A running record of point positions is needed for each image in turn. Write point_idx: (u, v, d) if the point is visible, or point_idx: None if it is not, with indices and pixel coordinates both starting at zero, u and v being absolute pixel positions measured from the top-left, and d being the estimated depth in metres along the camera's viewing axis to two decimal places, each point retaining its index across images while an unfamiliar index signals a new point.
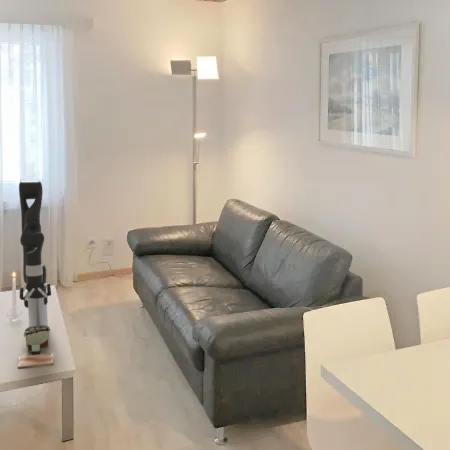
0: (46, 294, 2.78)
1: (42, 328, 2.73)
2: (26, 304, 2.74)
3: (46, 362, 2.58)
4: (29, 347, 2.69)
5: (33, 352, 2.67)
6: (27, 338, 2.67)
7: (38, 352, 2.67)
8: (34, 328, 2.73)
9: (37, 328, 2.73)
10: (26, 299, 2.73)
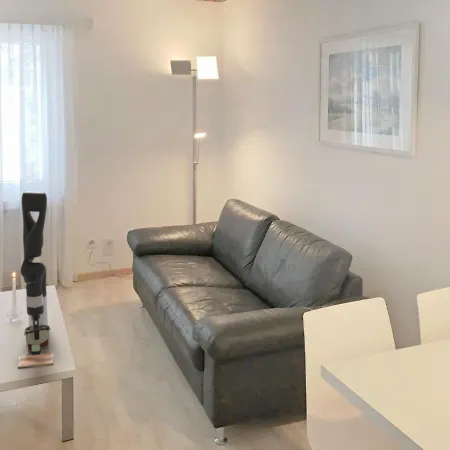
0: None
1: (42, 327, 2.74)
2: (38, 336, 2.69)
3: (46, 362, 2.58)
4: (29, 346, 2.69)
5: (33, 352, 2.67)
6: (27, 337, 2.68)
7: (38, 352, 2.67)
8: None
9: None
10: (39, 330, 2.68)
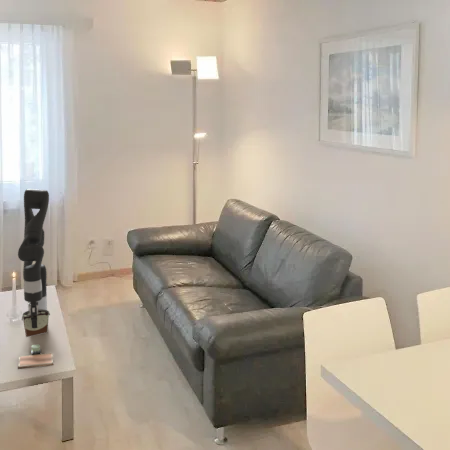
0: None
1: (41, 312, 2.57)
2: (36, 324, 2.53)
3: (46, 362, 2.58)
4: (27, 332, 2.53)
5: (33, 352, 2.67)
6: (25, 322, 2.52)
7: (38, 352, 2.67)
8: None
9: None
10: None
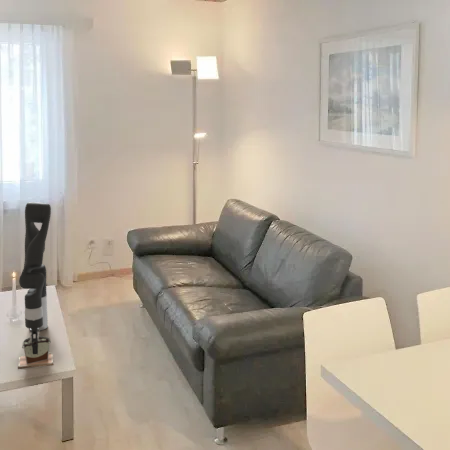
0: None
1: (42, 339, 2.60)
2: (37, 350, 2.55)
3: (46, 362, 2.58)
4: (28, 359, 2.56)
5: None
6: (26, 350, 2.54)
7: None
8: None
9: None
10: None
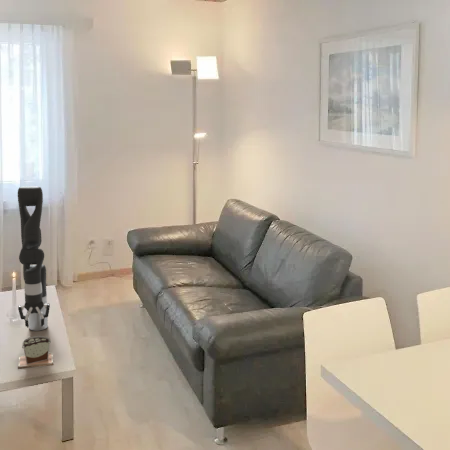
0: (25, 316, 2.63)
1: (42, 339, 2.60)
2: None
3: (46, 362, 2.58)
4: (28, 359, 2.56)
5: None
6: (26, 350, 2.54)
7: None
8: (33, 339, 2.60)
9: (37, 339, 2.60)
10: None
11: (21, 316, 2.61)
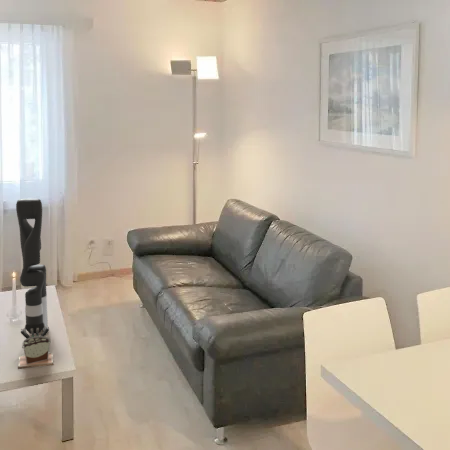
0: None
1: (42, 339, 2.60)
2: None
3: (46, 362, 2.58)
4: (28, 359, 2.56)
5: None
6: (26, 350, 2.54)
7: None
8: (33, 339, 2.60)
9: (37, 339, 2.60)
10: None
11: None
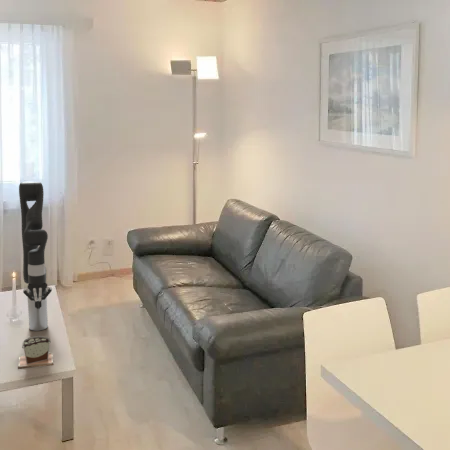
0: None
1: (42, 339, 2.60)
2: None
3: (46, 362, 2.58)
4: (28, 359, 2.56)
5: None
6: (26, 350, 2.54)
7: None
8: (33, 339, 2.60)
9: (37, 339, 2.60)
10: None
11: (30, 298, 2.62)
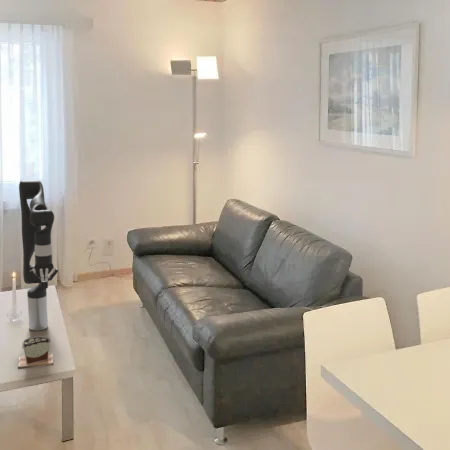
0: None
1: (42, 339, 2.60)
2: None
3: (46, 362, 2.58)
4: (28, 359, 2.56)
5: None
6: (26, 350, 2.54)
7: None
8: (33, 339, 2.60)
9: (37, 339, 2.60)
10: None
11: (37, 278, 2.65)
